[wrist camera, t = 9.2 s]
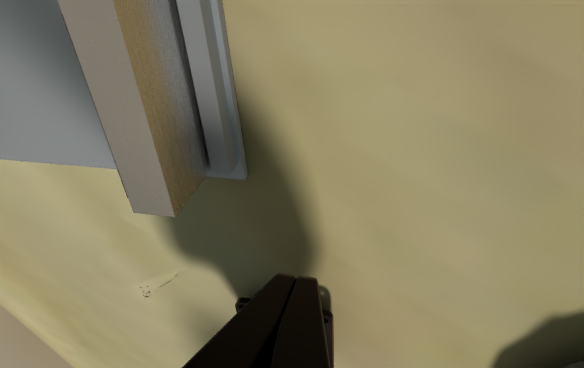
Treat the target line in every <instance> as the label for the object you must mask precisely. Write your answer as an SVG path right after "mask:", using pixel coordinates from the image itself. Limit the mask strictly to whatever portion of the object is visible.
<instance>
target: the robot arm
mask: <svg viewBox="0 0 584 368" xmlns="http://www.w3.org/2000/svg"><path fill="white" fill-rule="evenodd" d="M235 307H236V311H237V314H236V315H235V316H234V317H233V318H232V319H231V320H230V321H229V322H228V323H227V324H226V325H225V326H224V327H223V328H222V329H221V330H220V331H219V332H218V333H217V334H216V335H214V336H213V337H212V338H211V339H210V340H209V341H208V342H207V343H206V344H205V345H204V346H203V347H202V348H201V349H200V350H199V351H198V352H197V353H196V354H195V355H194V356H193V357H192V358H191V359H190V360H189V361H188V362H187V363H186V364H185V365H184V366H183V367H182V368H334V334H333V314H332V313H331V312H329V311H326V310H322V307H321V300H320V294H319V287H318V281H317V279H316V278H313V277H306V276H299V277H298V278H297V276H295V275H291V274H284V273H278V274H276V275H275V276H274V277H273V278H272V279H271V280H270V281H269V282H268V283H267V284H266V285H265V286H264V287H263V288H262V289H261V290H260V291H259V292H258V293H257V294H256V295H255V296H254V297H253V298H252V299H250V298H244V297H241V298H238V300H237V302H236V304H235Z"/></svg>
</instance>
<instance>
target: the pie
mask: <svg viewBox="0 0 584 368" xmlns="http://www.w3.org/2000/svg"><path fill="white" fill-rule="evenodd" d="M563 368H584V361H582V362H577V363H572V364H570V365H568V366H565V367H563Z"/></svg>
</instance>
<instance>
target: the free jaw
mask: <svg viewBox="0 0 584 368" xmlns="http://www.w3.org/2000/svg"><path fill="white" fill-rule="evenodd" d="M58 3H59V6H60V9H61V11H62V13H61V14H62V17H63V20H64V22H65V25H66V28H67V31H68V34H69V36H70V39H71V42H72V45H73V47H74V50H75V53H76V56H77V59H78V61H79V64H80V67H81V70H82V72H83V75H84V78H85V81H86V84H87V86H88V89H89V92H90V95H91V98H92V100H93V103H94V106H95V109H96V111H97V114H98V117H99V120H100V123H101V125H102V128H103V131H104V134H105V137H106V139H107V142H108V145H109V148H110V150H111V153H112V156H113V159H114V162H115V164H116V167H117V170H118V173H119V175H120V178H121V181H122V184H123V187H124V189H125V192H126V195H127V198H128V199H129V201H130V204H131V207H132V210H133V213H141V214H150V215H159V216H168V217H176V216H177V214H178V213H179V212H180V210H181V209H182V208H183V206H184V205H185V203H186V202H187V201H188V199H189V198H190V197H191V195H192V194H193V193H194V191H195V190H196V189H197V187H198V186H199V185H200V183H201V182H202V181H203V179H204V178H205V177H206V175H207V174H208V172H209V171H210V170H211V165H210V160H209V155H208V150H207V145H206V140H205V136H204V131H203V126H202V121H201V116H200V112H199V107H198V102H197V97H196V92H195V87H194V83H193V78H192V73H191V68H190V63H189V59H188V54H187V49H186V44H185V39H184V34H183V30H182V25H181V20H180V15H179V10H178V6H177V1H176V0H58Z"/></svg>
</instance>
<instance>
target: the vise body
mask: <svg viewBox="0 0 584 368" xmlns="http://www.w3.org/2000/svg"><path fill="white" fill-rule="evenodd" d="M176 1H177V6H178V10H179V15H180V20H181V25H182V30H183V34H184V39H185V44H186V49H187V54H188V59H189V63H190V68H191V73H192V78H193V83H194V87H195V92H196V97H197V102H198V107H199V112H200V116H201V121H202V126H203V131H204V136H205V140H206V145H207V150H208V155H209V160H210V165H211V170H210V171H209V172H208V174H207V175H206V177H215V178H226V179H238V180H245V179H246V178H247V176H248V171H247V165H246V158H245V151H244V145H243V138H242V131H241V125H240V118H239V111H238V105H237V98H236V91H235V85H234V78H233V71H232V65H231V58H230V51H229V45H228V38H227V31H226V25H225V18H224V11H223V5H222V0H176ZM61 13H62V11H61V9H60V6H59V3H58V0H0V159H4V160H15V161H27V162H39V163H51V164H62V165H74V166H86V167H97V168H109V169H117V167H116V164H115V162H114V159H113V156H112V153H111V150H110V148H109V145H108V142H107V139H106V137H105V134H104V131H103V128H102V125H101V123H100V120H99V117H98V114H97V111H96V109H95V106H94V103H93V100H92V98H91V95H90V92H89V89H88V86H87V84H86V81H85V78H84V75H83V72H82V70H81V67H80V64H79V61H78V59H77V56H76V53H75V50H74V47H73V45H72V42H71V39H70V36H69V34H68V31H67V28H66V25H65V22H64V20H63V17H62V14H61Z"/></svg>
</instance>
